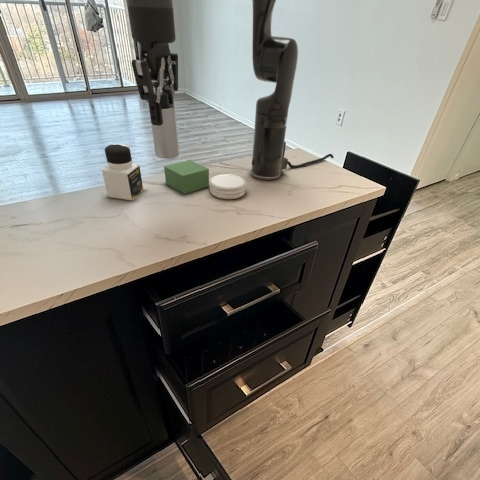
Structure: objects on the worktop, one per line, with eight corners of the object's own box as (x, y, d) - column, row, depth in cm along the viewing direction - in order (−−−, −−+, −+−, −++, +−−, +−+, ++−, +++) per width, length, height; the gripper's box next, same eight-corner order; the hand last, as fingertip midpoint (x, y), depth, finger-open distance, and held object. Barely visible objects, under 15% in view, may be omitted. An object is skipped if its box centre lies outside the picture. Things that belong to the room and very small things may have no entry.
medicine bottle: (132, 201, 84) (123, 152, 76) (107, 197, 85) (95, 148, 76) (144, 190, 89) (136, 143, 81) (120, 187, 90) (110, 140, 81)
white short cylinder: (225, 203, 86) (225, 190, 83) (203, 191, 91) (202, 178, 88) (252, 194, 91) (253, 181, 88) (229, 183, 96) (229, 171, 93)
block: (190, 177, 98) (189, 159, 94) (209, 186, 93) (208, 168, 90) (165, 184, 93) (163, 166, 90) (184, 194, 89) (182, 175, 85)
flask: (170, 149, 72) (163, 90, 64) (183, 155, 69) (178, 94, 61) (151, 153, 69) (142, 92, 61) (164, 160, 67) (156, 97, 59)
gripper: (150, 5, 47) (165, 133, 59) (188, 5, 57) (194, 115, 69) (105, 2, 48) (128, 128, 60) (149, 3, 58) (162, 111, 70)
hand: (163, 120), depth 65 cm, fingers closed on flask, 5 cm apart
